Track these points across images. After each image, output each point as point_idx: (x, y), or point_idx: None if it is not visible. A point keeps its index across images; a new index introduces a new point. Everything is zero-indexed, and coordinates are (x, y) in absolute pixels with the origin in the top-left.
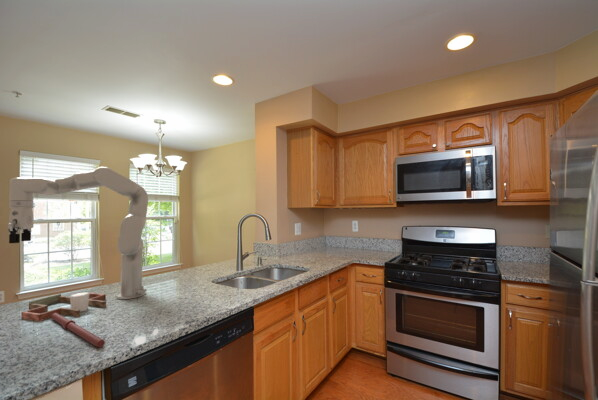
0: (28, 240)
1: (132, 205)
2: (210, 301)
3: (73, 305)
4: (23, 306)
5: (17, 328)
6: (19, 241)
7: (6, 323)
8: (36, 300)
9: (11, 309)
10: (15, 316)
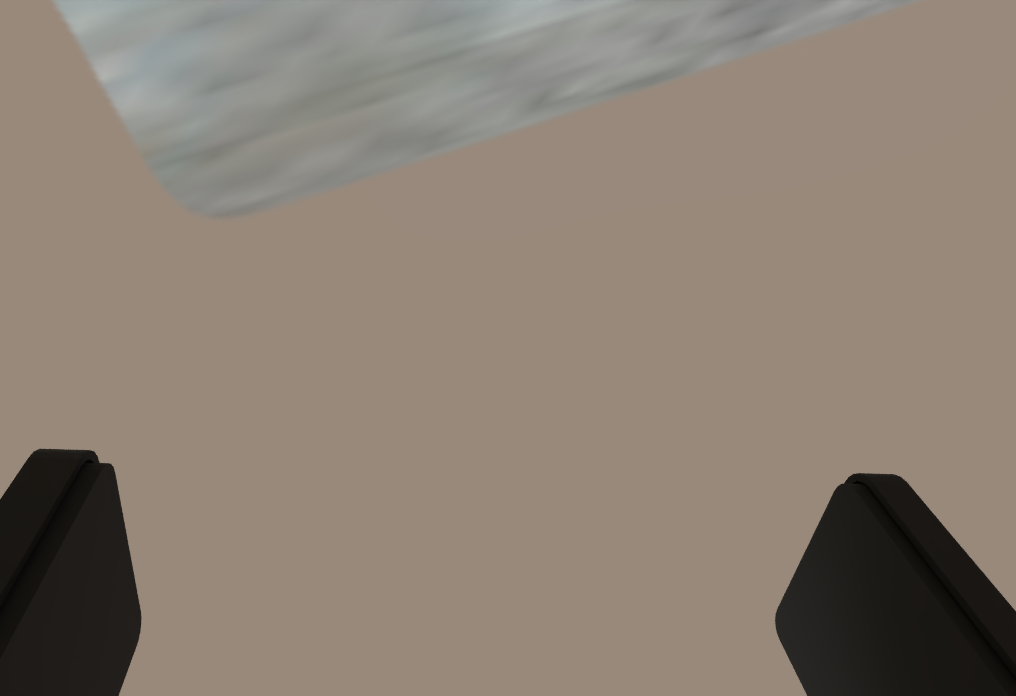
0: (112, 487)
1: None
2: None
3: None
4: (336, 63)
5: None
6: (884, 491)
7: (809, 29)
8: None
9: (391, 132)
10: (650, 25)
